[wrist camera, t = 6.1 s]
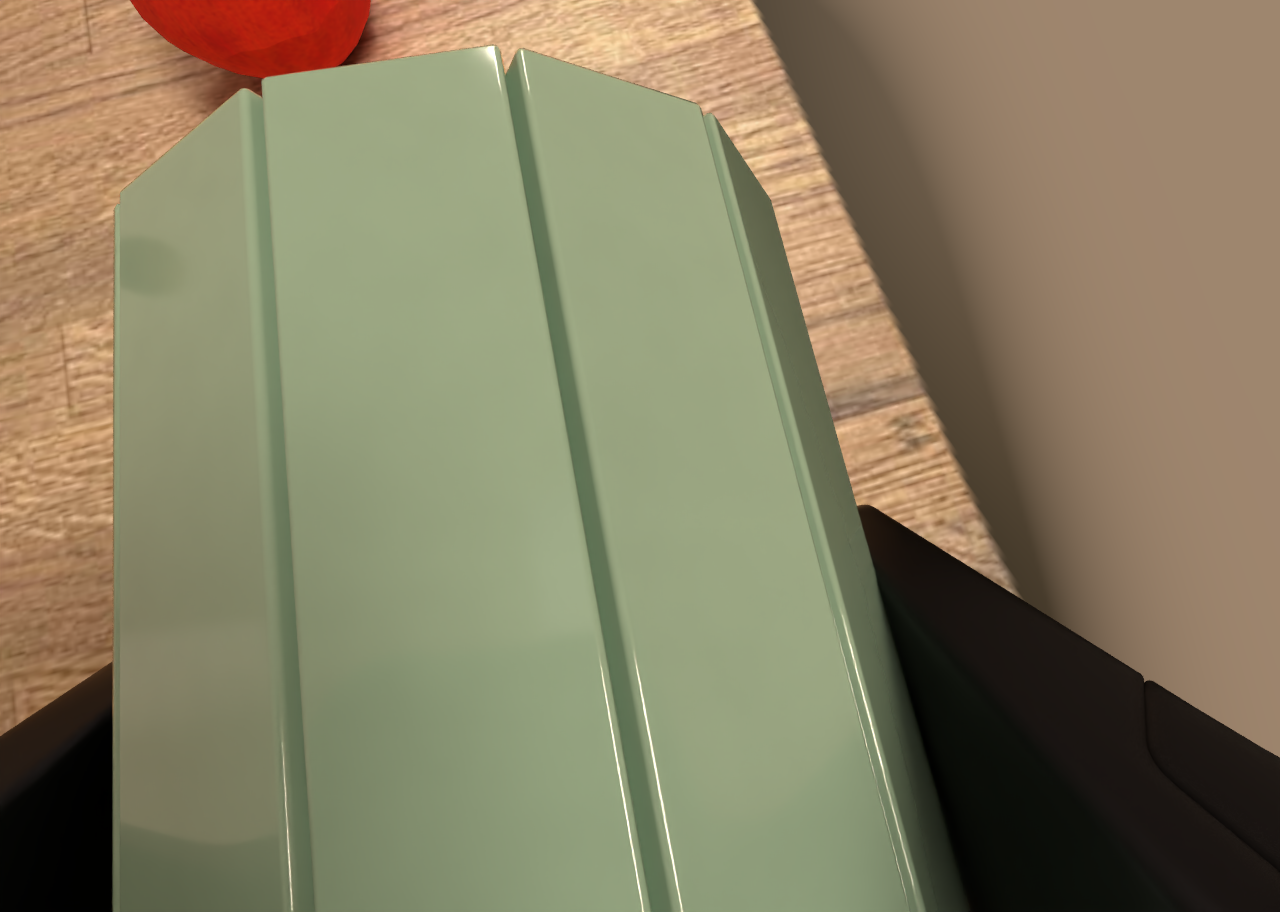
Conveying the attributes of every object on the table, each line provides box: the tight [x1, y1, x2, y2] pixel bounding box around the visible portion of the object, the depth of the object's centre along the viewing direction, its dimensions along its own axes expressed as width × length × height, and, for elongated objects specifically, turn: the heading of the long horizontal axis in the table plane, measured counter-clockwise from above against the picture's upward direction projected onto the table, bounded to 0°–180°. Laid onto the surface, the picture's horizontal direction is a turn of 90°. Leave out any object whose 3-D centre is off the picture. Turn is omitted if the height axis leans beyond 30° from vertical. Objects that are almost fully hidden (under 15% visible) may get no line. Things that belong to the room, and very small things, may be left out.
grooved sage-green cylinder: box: [112, 45, 970, 912], centre depth 7 cm, size 11×7×7 cm, turn 11°
